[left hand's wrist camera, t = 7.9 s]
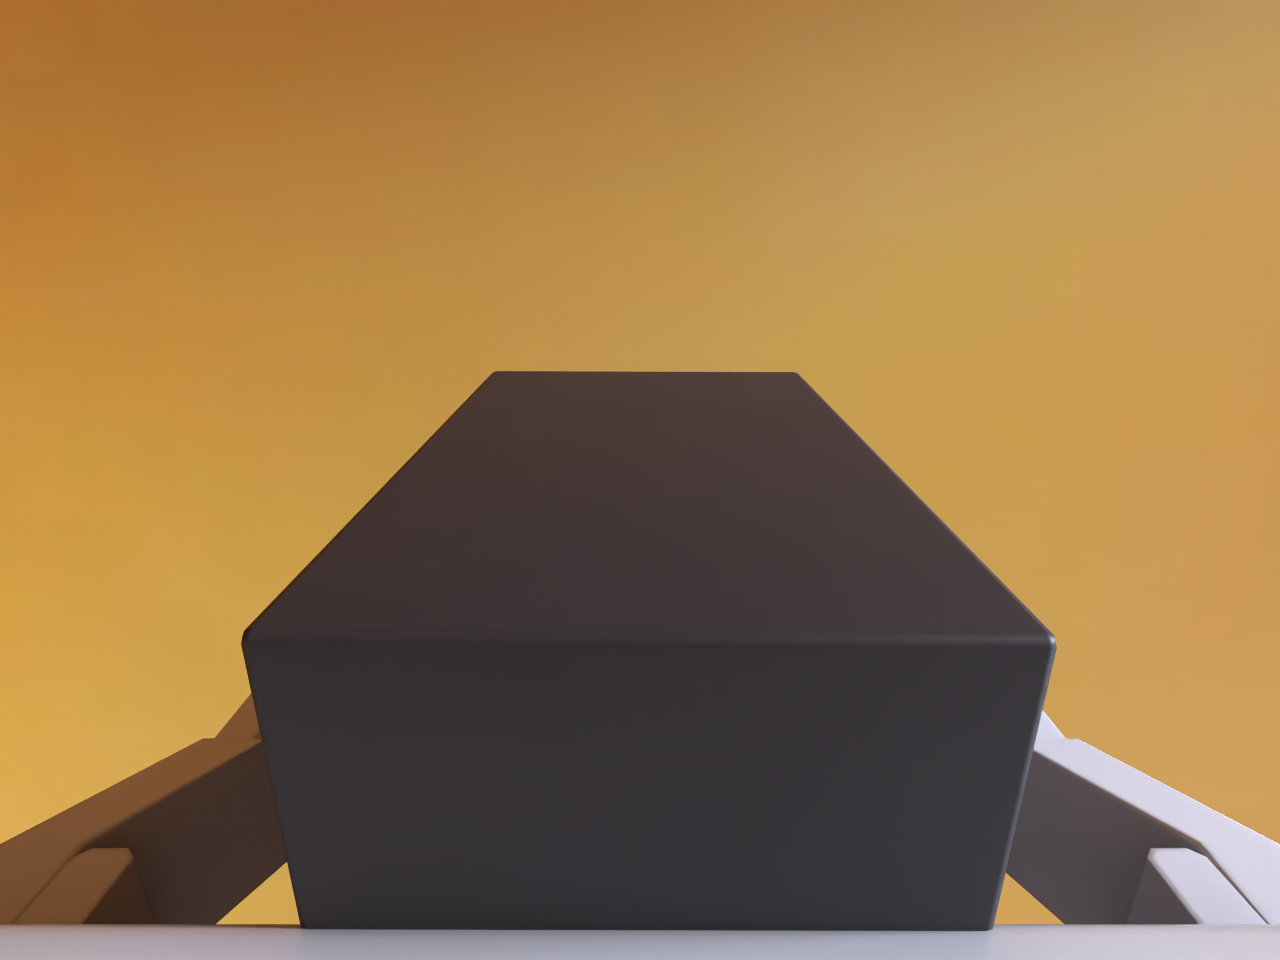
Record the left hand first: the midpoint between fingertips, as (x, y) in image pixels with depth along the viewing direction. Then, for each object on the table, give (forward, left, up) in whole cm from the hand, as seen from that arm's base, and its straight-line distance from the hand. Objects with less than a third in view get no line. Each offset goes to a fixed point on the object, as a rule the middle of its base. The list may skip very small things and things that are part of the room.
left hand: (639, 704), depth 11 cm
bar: (+9, 0, -3) cm, 10 cm away
